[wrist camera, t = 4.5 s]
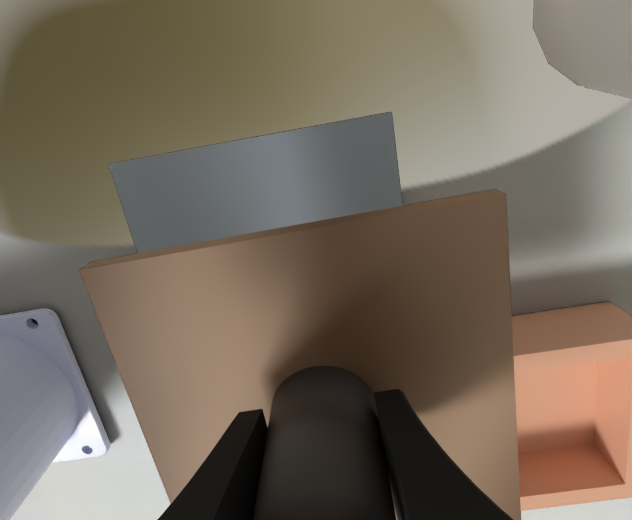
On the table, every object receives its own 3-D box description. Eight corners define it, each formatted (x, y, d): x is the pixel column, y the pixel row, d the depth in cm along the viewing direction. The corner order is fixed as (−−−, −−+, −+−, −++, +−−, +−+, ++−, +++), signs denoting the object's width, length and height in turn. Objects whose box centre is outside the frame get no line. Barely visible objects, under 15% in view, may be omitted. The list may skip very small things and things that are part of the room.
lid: (199, 546, 15) (148, 735, 10) (91, 261, 11) (-52, 364, 7) (513, 506, 14) (599, 692, 10) (496, 188, 11) (616, 254, 6)
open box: (441, 466, 23) (457, 518, 20) (426, 328, 20) (443, 366, 18) (602, 445, 22) (643, 495, 20) (609, 301, 20) (657, 335, 17)
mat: (188, 392, 22) (185, 399, 21) (113, 162, 18) (107, 164, 17) (418, 358, 21) (420, 364, 20) (389, 111, 17) (392, 112, 17)
